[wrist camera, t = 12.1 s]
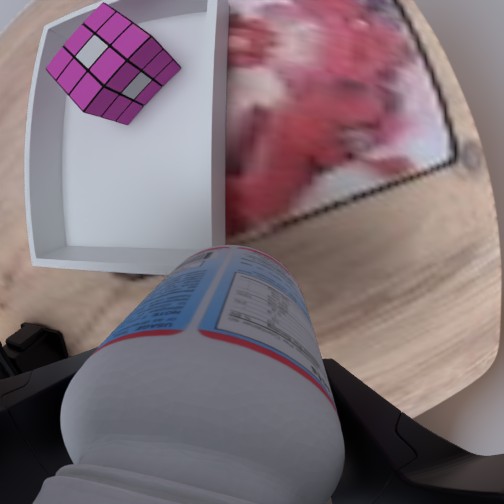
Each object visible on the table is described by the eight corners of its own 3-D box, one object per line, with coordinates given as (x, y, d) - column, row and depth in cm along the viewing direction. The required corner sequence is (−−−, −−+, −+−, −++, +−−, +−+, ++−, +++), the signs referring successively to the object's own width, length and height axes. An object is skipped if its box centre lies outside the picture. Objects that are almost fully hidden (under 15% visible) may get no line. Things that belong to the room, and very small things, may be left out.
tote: (225, 256, 21) (212, 277, 16) (65, 251, 22) (32, 265, 17) (229, 6, 16) (219, -26, 12) (73, 41, 17) (44, 25, 13)
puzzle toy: (127, 126, 18) (82, 113, 13) (88, 86, 18) (44, 68, 12) (182, 68, 17) (152, 35, 12) (137, 32, 17) (103, 1, 11)
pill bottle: (176, 366, 13) (81, 573, 2) (159, 243, 12) (-85, 416, 1) (303, 369, 13) (329, 610, 2) (308, 240, 12) (469, 543, 1)
